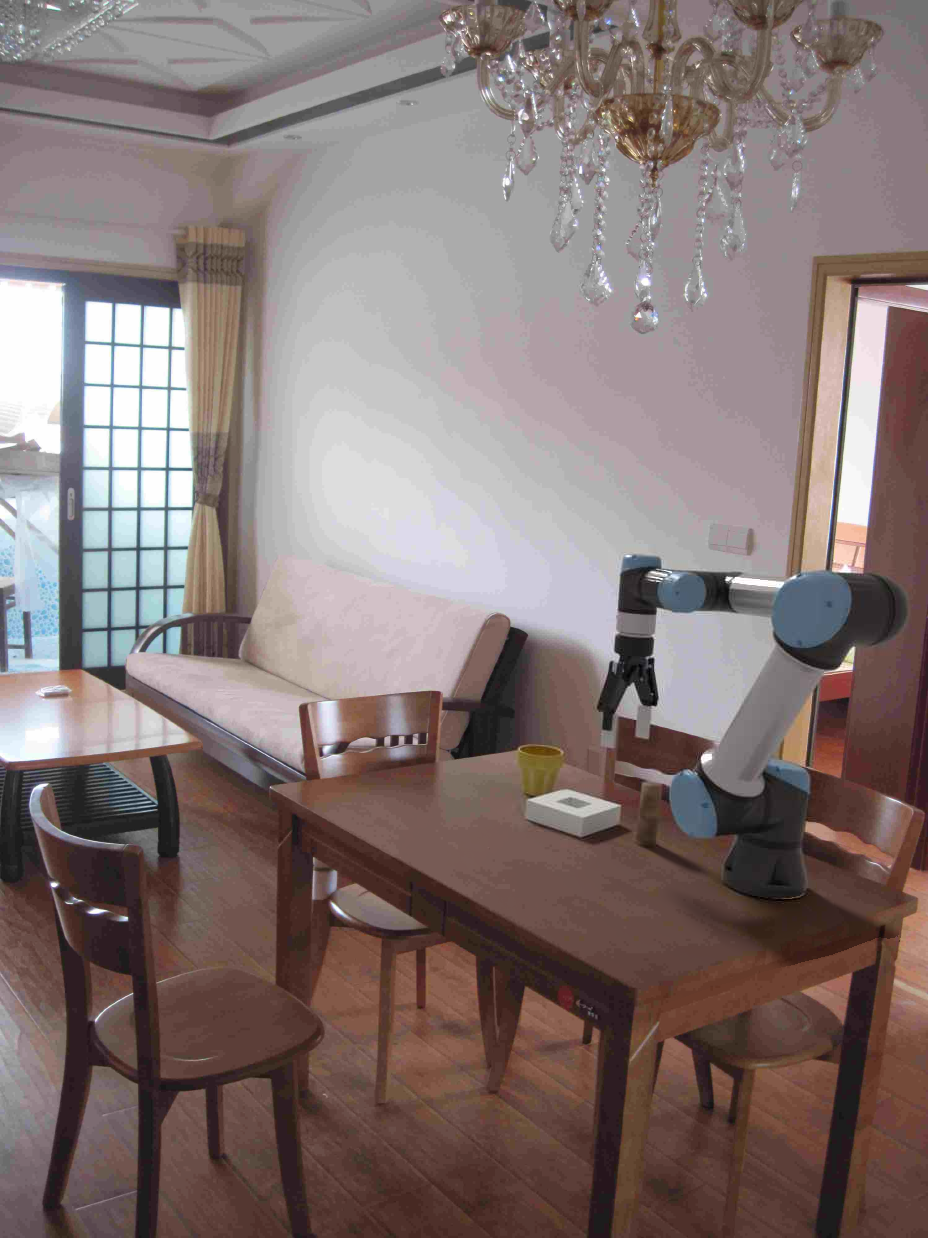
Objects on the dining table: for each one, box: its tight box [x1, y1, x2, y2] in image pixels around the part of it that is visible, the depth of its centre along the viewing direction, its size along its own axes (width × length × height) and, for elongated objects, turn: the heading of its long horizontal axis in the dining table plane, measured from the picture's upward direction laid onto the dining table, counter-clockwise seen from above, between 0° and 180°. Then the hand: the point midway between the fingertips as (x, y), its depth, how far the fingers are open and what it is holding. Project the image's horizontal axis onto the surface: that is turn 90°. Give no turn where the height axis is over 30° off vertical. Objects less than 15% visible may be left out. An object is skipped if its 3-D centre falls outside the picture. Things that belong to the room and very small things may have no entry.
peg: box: [635, 781, 663, 848], centre depth 226 cm, size 4×4×12 cm
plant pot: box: [516, 744, 565, 797], centre depth 255 cm, size 10×10×10 cm
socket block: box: [524, 788, 622, 838], centre depth 237 cm, size 14×14×4 cm
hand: (625, 742), depth 224 cm, fingers open, 13 cm apart
